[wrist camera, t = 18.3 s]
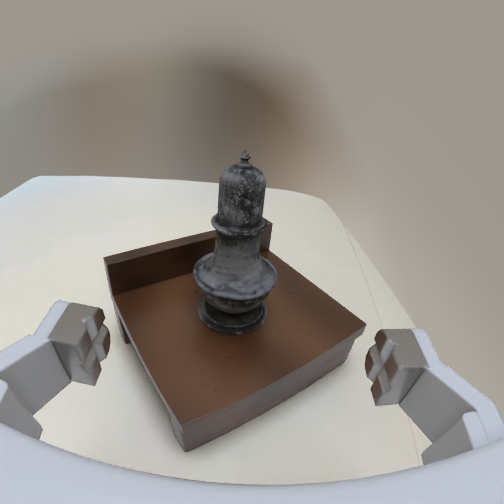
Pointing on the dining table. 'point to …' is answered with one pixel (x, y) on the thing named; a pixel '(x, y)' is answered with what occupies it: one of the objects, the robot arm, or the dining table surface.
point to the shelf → (223, 337)
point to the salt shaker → (236, 255)
